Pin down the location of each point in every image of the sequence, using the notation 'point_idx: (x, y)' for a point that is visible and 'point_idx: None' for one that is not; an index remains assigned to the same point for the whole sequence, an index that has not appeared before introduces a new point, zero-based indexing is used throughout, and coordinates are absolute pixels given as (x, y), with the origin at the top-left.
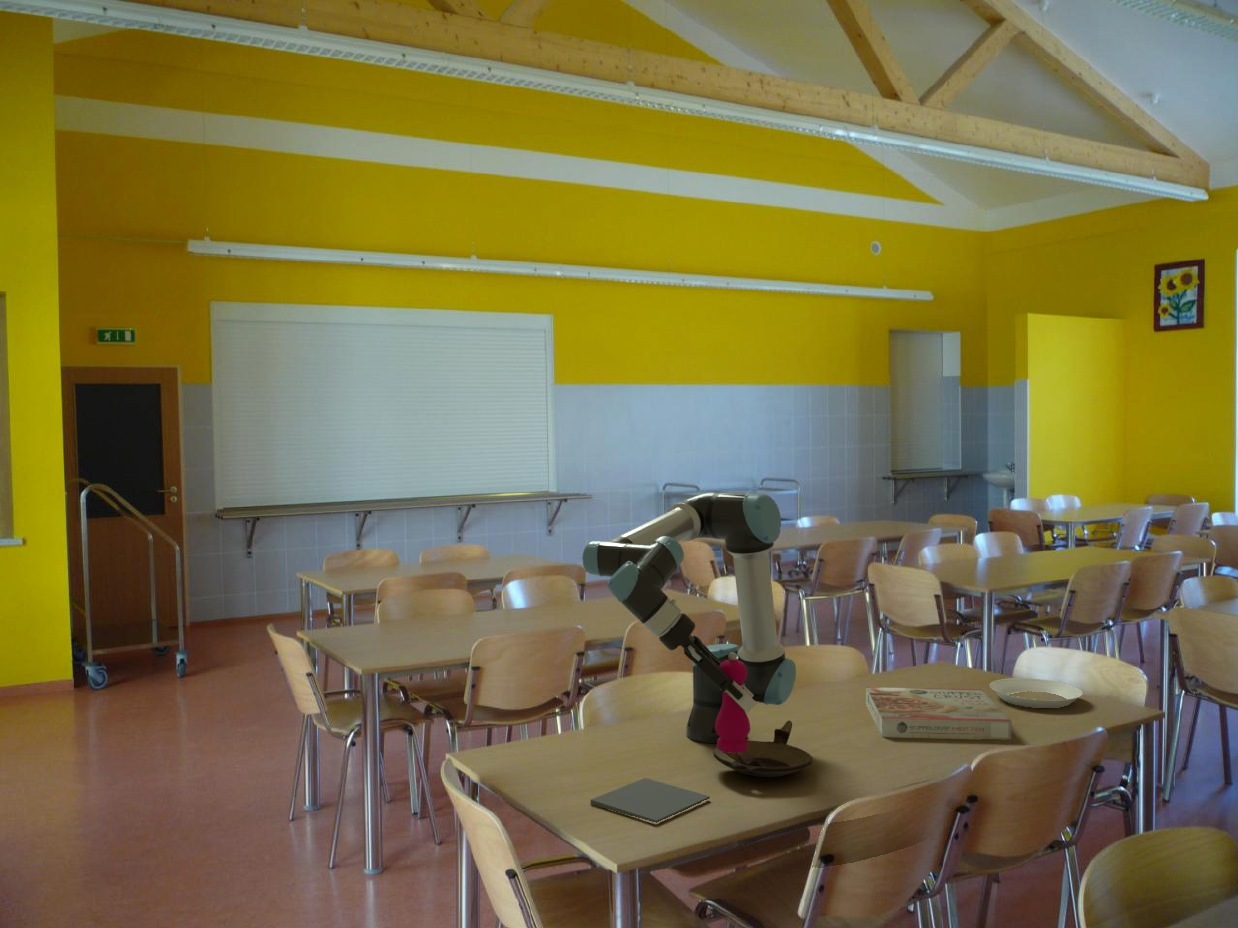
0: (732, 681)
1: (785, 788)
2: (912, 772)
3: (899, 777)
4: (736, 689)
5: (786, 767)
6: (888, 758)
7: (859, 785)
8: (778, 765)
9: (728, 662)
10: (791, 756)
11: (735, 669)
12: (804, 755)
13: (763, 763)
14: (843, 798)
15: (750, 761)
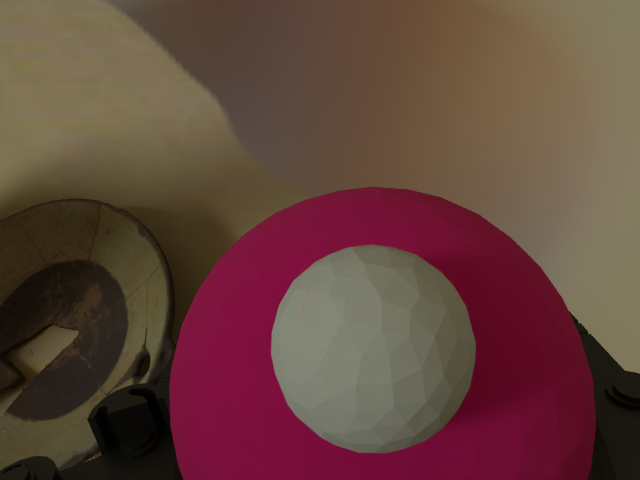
0: (636, 381)
1: (183, 279)
2: (99, 39)
3: (125, 60)
4: (599, 346)
5: (162, 258)
6: (13, 73)
7: (168, 127)
8: (37, 292)
9: (496, 442)
10: (10, 254)
11: (570, 320)
12: (31, 219)
13: (14, 331)
14: (246, 158)
15: (2, 367)
